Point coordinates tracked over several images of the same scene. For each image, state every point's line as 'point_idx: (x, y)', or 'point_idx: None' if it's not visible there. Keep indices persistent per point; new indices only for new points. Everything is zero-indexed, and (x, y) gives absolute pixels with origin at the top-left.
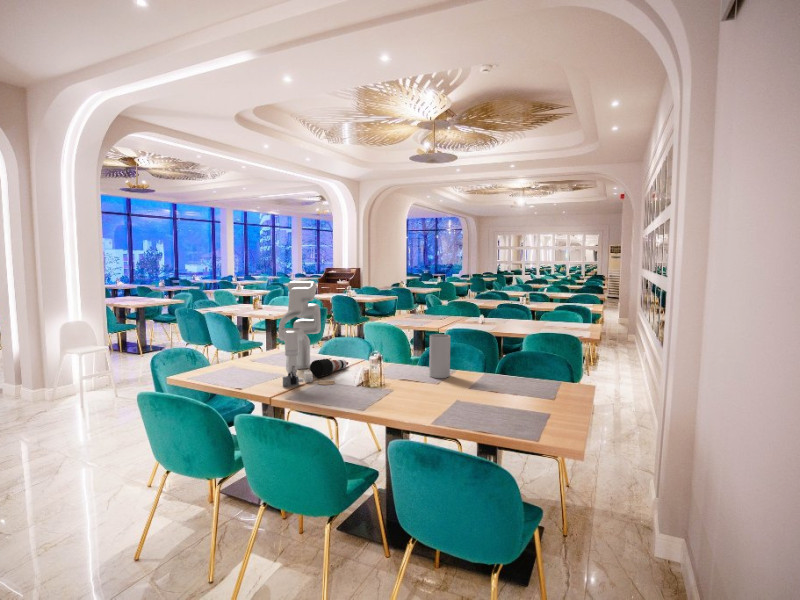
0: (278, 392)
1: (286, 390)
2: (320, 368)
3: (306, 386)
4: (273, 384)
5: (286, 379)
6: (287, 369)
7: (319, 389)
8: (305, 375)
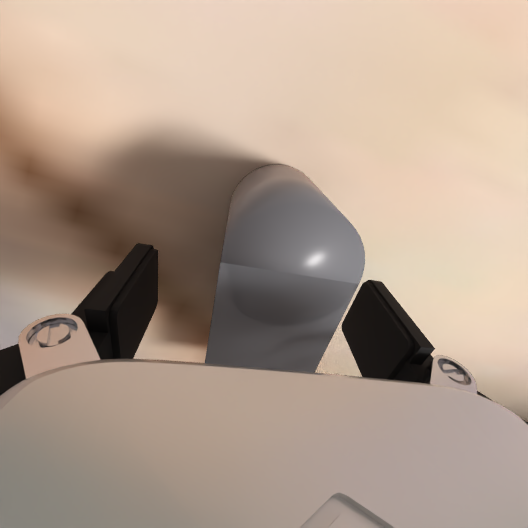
0: None
1: (26, 127)
2: None
3: (148, 351)
4: (461, 62)
5: (224, 238)
6: (176, 502)
7: None
8: None
